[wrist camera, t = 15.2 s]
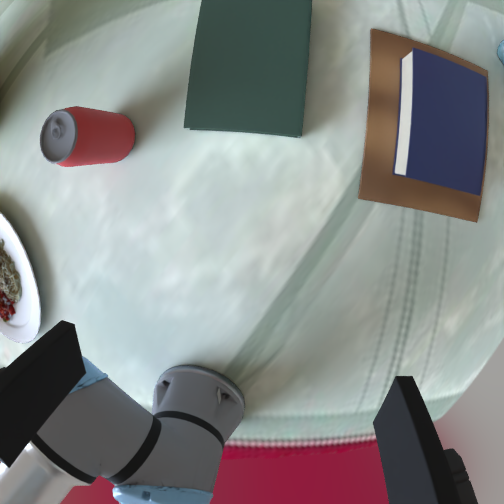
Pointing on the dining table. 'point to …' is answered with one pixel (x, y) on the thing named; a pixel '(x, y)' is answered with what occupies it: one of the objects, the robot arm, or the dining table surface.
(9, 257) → the plated food
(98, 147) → the beer can
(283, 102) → the green notebook
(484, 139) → the navy book
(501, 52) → the flower pot
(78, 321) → the dining table surface
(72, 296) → the dining table surface
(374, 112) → the brown wooden board
